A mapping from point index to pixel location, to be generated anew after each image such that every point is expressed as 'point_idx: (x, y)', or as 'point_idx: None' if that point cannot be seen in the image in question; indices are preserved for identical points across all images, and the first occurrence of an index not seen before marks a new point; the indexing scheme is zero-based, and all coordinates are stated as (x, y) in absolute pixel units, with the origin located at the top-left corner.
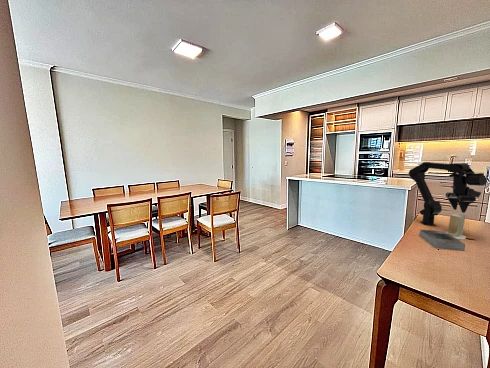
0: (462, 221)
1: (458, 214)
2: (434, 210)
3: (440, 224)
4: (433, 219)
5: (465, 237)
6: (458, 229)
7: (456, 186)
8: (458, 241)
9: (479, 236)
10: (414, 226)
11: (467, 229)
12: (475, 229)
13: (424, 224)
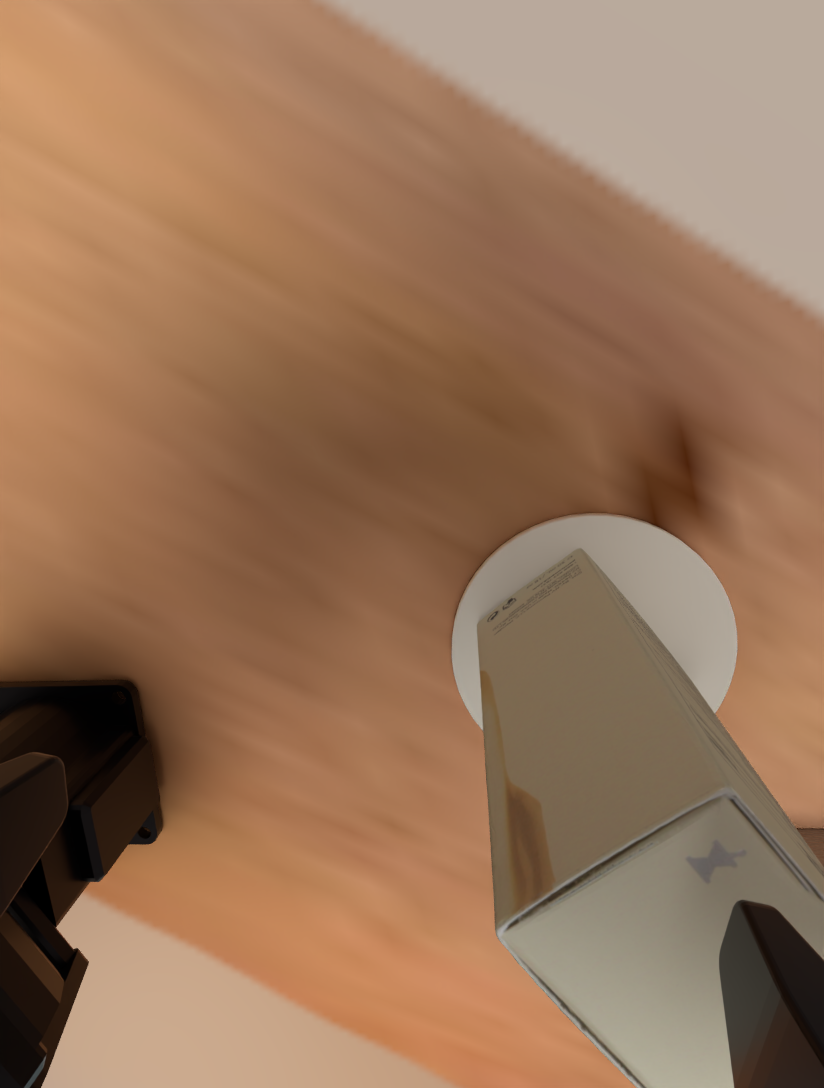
0: (742, 769)
1: (663, 958)
2: (21, 1061)
3: (23, 568)
4: (95, 809)
5: (676, 545)
6: (738, 747)
7: None
8: None
9: (500, 218)
10: (291, 992)
11: (142, 216)
12: (80, 39)
13: (156, 837)
